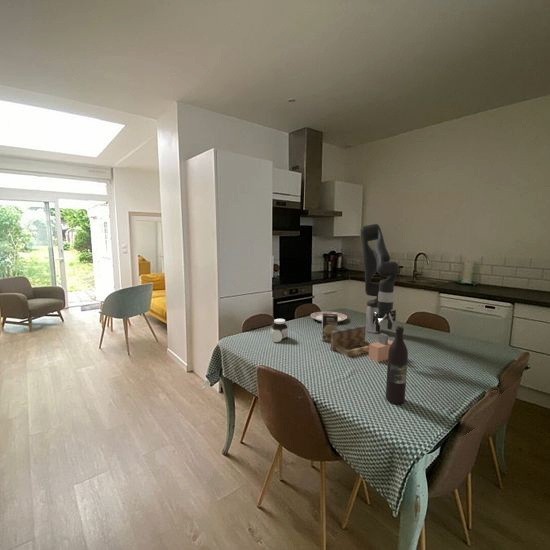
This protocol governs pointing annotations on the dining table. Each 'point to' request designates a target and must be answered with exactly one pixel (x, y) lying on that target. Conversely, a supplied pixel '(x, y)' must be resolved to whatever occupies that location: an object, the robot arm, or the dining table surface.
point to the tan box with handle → (380, 348)
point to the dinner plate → (319, 314)
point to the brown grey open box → (349, 340)
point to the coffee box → (328, 325)
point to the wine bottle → (397, 369)
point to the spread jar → (279, 330)
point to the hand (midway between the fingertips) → (383, 330)
